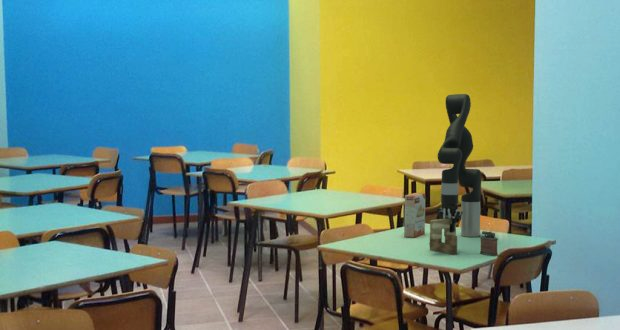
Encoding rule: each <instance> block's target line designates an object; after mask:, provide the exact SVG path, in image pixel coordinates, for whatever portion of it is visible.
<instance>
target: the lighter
mask: <svg viewBox="0 0 620 330" xmlns="http://www.w3.org/2000/svg"><path fill="white" fill-rule="evenodd" d="M481 234H482V235H480V236H479V238H480V251H479V254H481V255H486V256H493V257H494V256H495V257H496V256H499V255H498V239H499V237H496V232H492V231H485V230H482V231H481Z"/></svg>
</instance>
